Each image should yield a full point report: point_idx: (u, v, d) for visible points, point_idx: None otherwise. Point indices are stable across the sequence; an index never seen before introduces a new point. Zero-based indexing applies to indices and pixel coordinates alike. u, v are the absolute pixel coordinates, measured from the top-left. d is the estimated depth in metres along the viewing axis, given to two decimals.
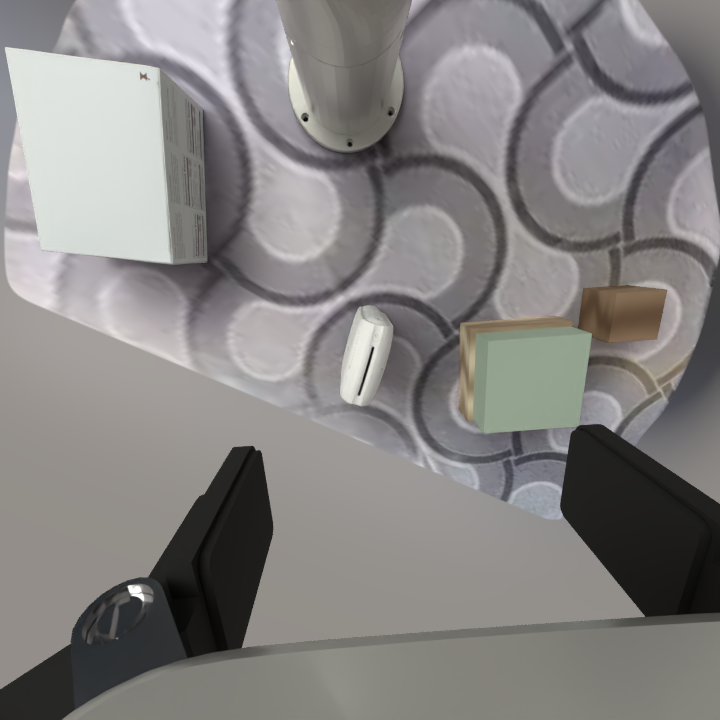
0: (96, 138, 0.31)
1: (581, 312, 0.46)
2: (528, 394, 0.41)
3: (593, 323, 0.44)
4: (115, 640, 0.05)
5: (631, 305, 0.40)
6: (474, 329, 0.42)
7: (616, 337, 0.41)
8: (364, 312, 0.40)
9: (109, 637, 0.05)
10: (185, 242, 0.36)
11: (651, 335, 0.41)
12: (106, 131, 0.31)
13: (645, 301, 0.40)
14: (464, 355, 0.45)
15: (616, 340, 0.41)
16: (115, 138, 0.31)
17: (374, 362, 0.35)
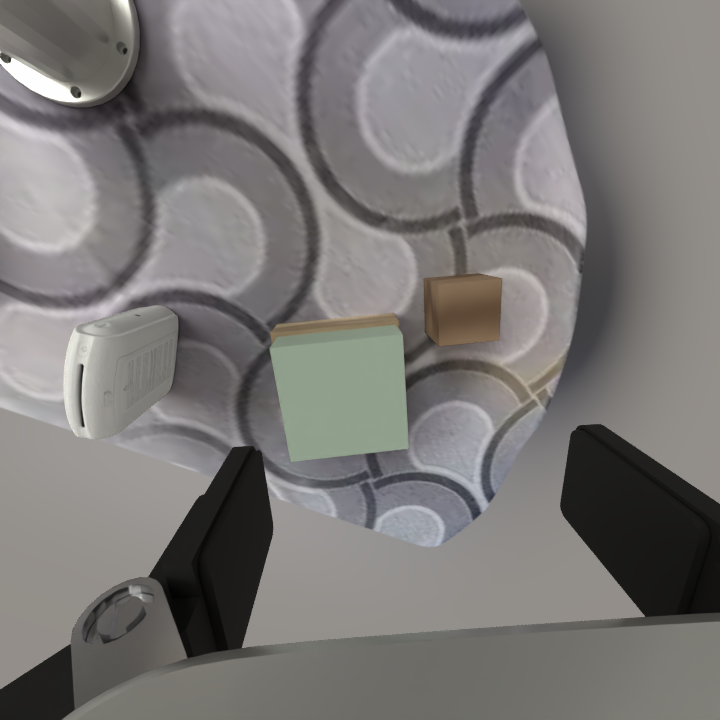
0: None
1: (425, 308, 0.38)
2: (336, 412, 0.32)
3: (430, 321, 0.36)
4: (115, 640, 0.05)
5: (460, 299, 0.32)
6: (275, 333, 0.34)
7: (447, 339, 0.33)
8: (118, 316, 0.31)
9: (109, 637, 0.05)
10: None
11: (492, 335, 0.33)
12: None
13: (476, 293, 0.32)
14: None
15: (448, 343, 0.33)
16: None
17: (84, 385, 0.26)
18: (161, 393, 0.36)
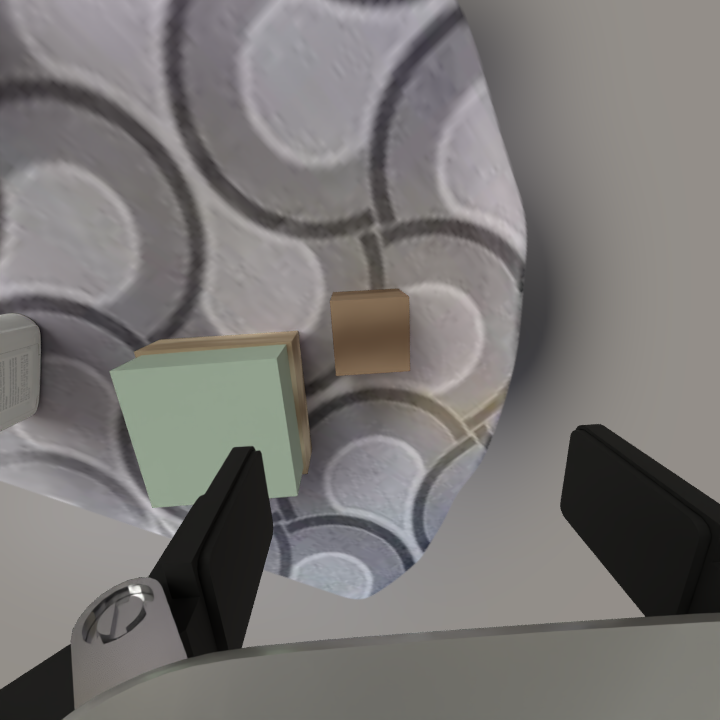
0: None
1: None
2: (202, 450, 0.26)
3: None
4: (115, 640, 0.05)
5: (358, 319, 0.26)
6: (141, 352, 0.28)
7: (346, 368, 0.27)
8: None
9: (109, 637, 0.05)
10: None
11: (400, 364, 0.27)
12: None
13: (378, 314, 0.26)
14: None
15: (347, 372, 0.27)
16: None
17: None
18: (13, 418, 0.30)
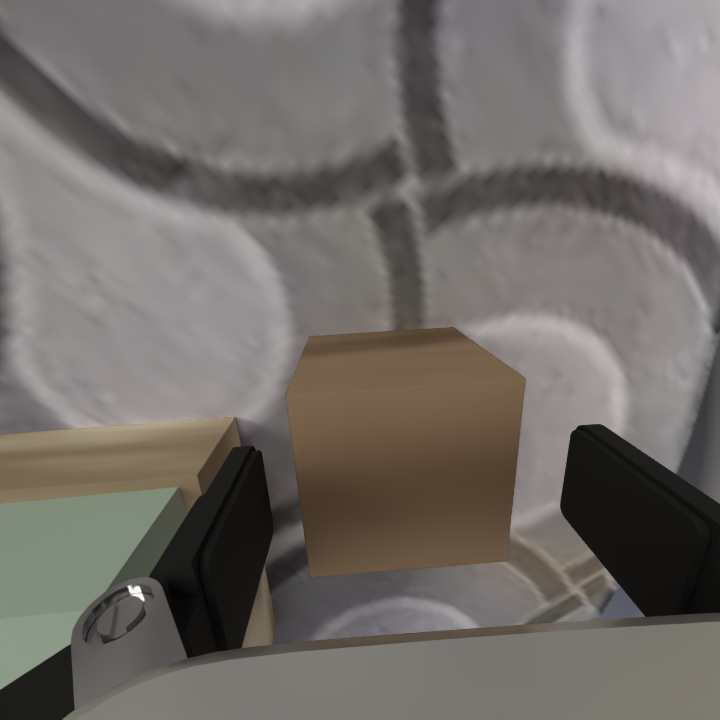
0: None
1: None
2: None
3: None
4: (115, 640, 0.05)
5: (372, 443, 0.09)
6: None
7: (337, 559, 0.10)
8: None
9: (109, 637, 0.05)
10: None
11: (483, 548, 0.10)
12: None
13: (430, 426, 0.09)
14: None
15: (340, 569, 0.10)
16: None
17: None
18: None
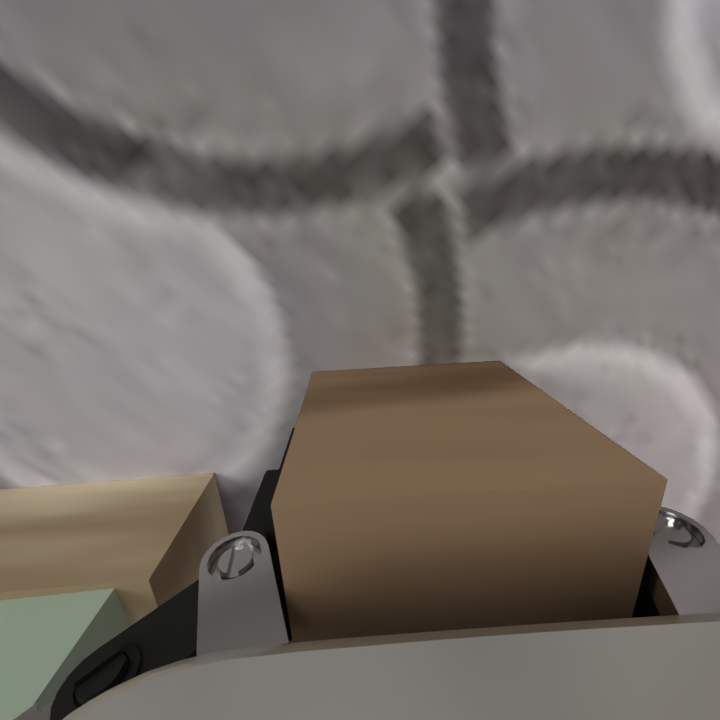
0: None
1: None
2: None
3: None
4: (230, 579, 0.06)
5: (410, 574, 0.06)
6: None
7: None
8: None
9: (225, 575, 0.06)
10: None
11: None
12: None
13: (505, 551, 0.05)
14: None
15: None
16: None
17: None
18: None
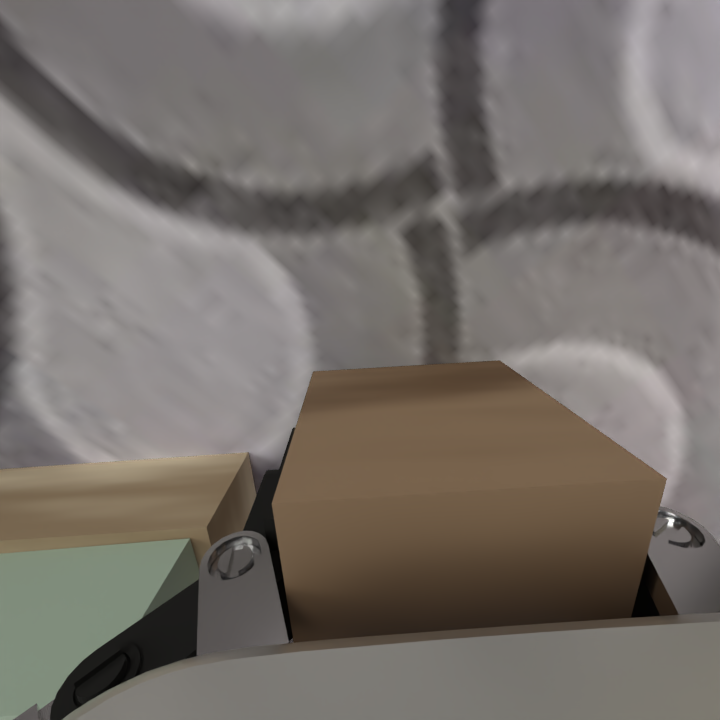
0: None
1: None
2: None
3: None
4: (230, 579, 0.06)
5: (410, 573, 0.06)
6: None
7: None
8: None
9: (226, 575, 0.06)
10: None
11: None
12: None
13: (504, 550, 0.05)
14: None
15: None
16: None
17: None
18: None
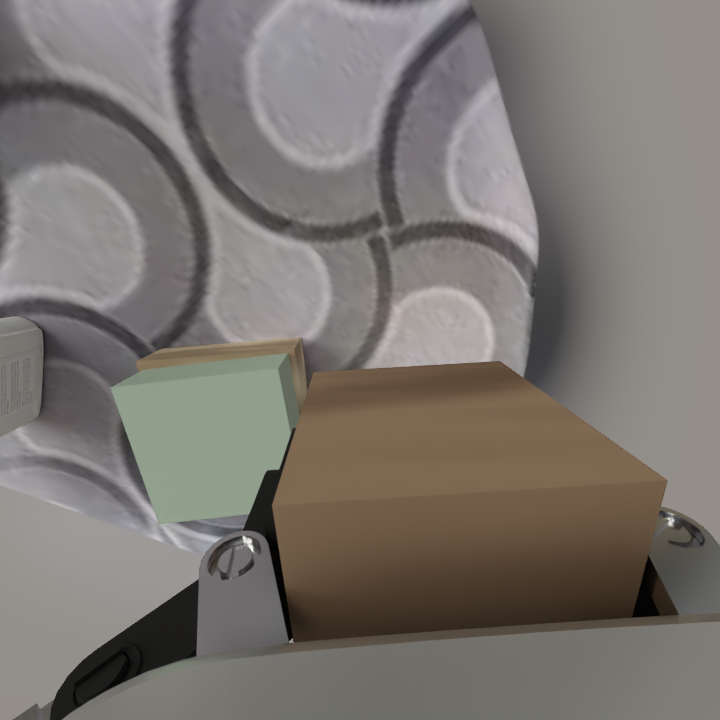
0: None
1: None
2: (206, 464, 0.26)
3: None
4: (230, 579, 0.06)
5: (411, 575, 0.06)
6: (142, 362, 0.28)
7: None
8: None
9: (226, 575, 0.06)
10: None
11: None
12: None
13: (505, 551, 0.05)
14: None
15: None
16: None
17: None
18: (15, 422, 0.30)
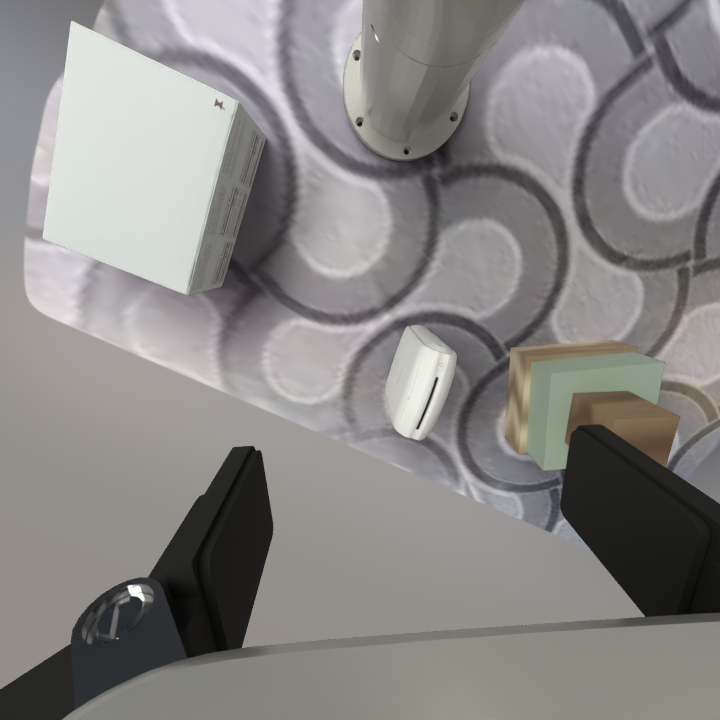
0: (145, 147, 0.27)
1: (570, 421, 0.37)
2: None
3: None
4: (115, 640, 0.05)
5: (633, 433, 0.31)
6: (530, 357, 0.39)
7: None
8: (418, 335, 0.37)
9: (109, 637, 0.05)
10: (207, 272, 0.33)
11: None
12: (159, 144, 0.27)
13: (651, 429, 0.31)
14: (516, 382, 0.42)
15: None
16: (167, 154, 0.28)
17: (437, 394, 0.31)
18: None
